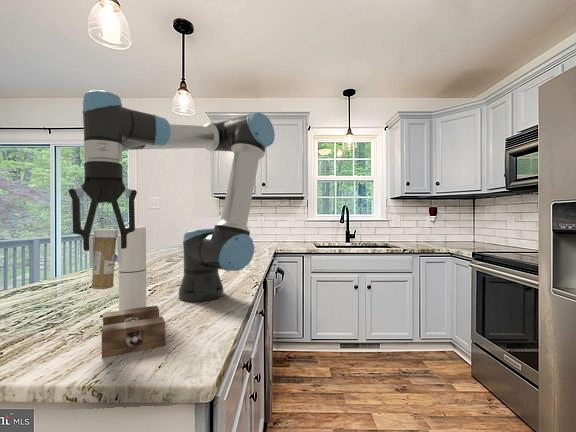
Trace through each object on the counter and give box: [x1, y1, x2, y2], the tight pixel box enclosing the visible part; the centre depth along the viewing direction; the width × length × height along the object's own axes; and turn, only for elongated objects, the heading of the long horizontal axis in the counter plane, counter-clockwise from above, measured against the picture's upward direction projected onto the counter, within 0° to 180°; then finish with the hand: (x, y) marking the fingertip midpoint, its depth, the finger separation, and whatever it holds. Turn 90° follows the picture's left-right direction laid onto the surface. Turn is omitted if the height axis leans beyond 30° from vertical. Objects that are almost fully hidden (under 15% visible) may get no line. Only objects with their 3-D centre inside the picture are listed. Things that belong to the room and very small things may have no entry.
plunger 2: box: [128, 331, 140, 343], centre depth 68 cm, size 2×6×2 cm, turn 29°
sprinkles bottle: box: [90, 228, 118, 290], centre depth 72 cm, size 5×5×13 cm
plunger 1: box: [126, 317, 138, 322], centre depth 77 cm, size 2×6×2 cm, turn 29°
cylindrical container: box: [117, 226, 148, 318], centre depth 90 cm, size 7×7×25 cm
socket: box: [101, 305, 166, 358], centre depth 72 cm, size 12×15×5 cm
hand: (106, 263), depth 72 cm, fingers closed on sprinkles bottle, 5 cm apart
